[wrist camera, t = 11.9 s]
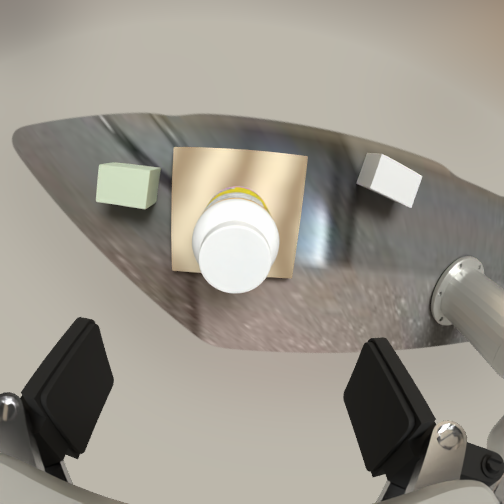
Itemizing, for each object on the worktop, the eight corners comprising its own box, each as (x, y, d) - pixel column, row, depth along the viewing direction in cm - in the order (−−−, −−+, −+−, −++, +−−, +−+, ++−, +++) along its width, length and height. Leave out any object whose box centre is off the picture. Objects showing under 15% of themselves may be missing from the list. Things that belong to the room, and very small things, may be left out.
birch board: (304, 156, 29) (307, 156, 27) (289, 273, 34) (291, 278, 32) (177, 147, 28) (173, 147, 27) (174, 265, 33) (172, 270, 31)
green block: (161, 167, 29) (150, 170, 25) (156, 202, 30) (145, 209, 27) (114, 162, 28) (99, 164, 25) (111, 195, 30) (96, 201, 26)
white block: (404, 172, 30) (422, 176, 26) (394, 201, 31) (411, 208, 27) (366, 152, 29) (382, 153, 25) (355, 183, 30) (370, 188, 26)
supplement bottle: (256, 252, 31) (265, 318, 19) (199, 235, 30) (173, 292, 18) (276, 196, 29) (302, 229, 17) (216, 176, 28) (197, 196, 16)
